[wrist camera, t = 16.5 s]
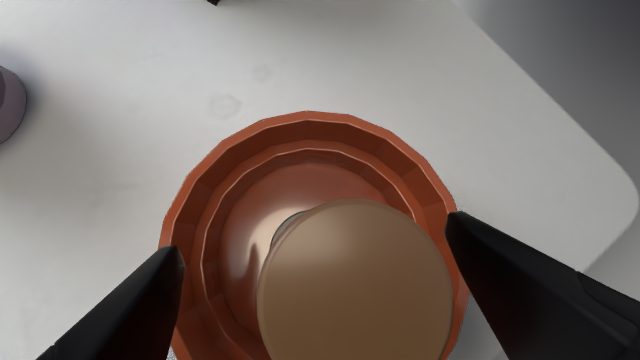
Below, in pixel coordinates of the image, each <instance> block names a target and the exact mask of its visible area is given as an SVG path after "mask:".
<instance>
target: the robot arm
mask: <svg viewBox="0 0 640 360" xmlns="http://www.w3.org/2000/svg"><path fill="white" fill-rule="evenodd" d="M444 236H445V239H446V241H447V243H448V246H449V248H450V250H451V253H452V255H453V257H454V260H455V262H456V264H457V266H458V269H459V271H460V273H461V275H462V277H463V279H464V281H465V283H466V285H467V286H468V288H469V290H470V292H471V293H472V295H473V297H474V299H475V300H476V302H477V304H478V306H479V307H480V309H481V311H482V313H483V315H484V316H485V318H486V320H487V322H488V323H489V325H490V327H491V329H492V330H493V332H494V334H495V336H496V338H497V339H498V341H499V343H500V345H501V346H502V348H503V350H504V352H505V353H506V355H507V357H508V359H509V360H640V302H639V301H637V300H635V299H633V298H631V297H629V296H627V295H625V294H622V293H620V292H618V291H616V290H614V289H612V288H610V287H608V286H606V285H604V284H602V283H600V282H598V281H596V280H594V279H592V278H590V277H588V276H586V275H584V274H583V273H581V272H579V271H575V270H574V269H573V268H571V267H569V266H567V265H565V264H563V263H561V262H559V261H557V260H555V259H553V258H552V257H550V256H548V255H546V254H544V253H542V252H540V251H538V250H536V249H534V248H532V247H530V246H528V245H526V244H525V243H523V242H521V241H519V240H517V239H515V238H513V237H511V236H509V235H507V234H505V233H503V232H501V231H499V230H498V229H496V228H494V227H492V226H490V225H488V224H486V223H484V222H482V221H480V220H478V219H476V218H474V217H472V216H471V215H469V214H467V213H465V212H463V211H454V212H450V213H449V214H448V215H447V219H446V223H445V227H444ZM184 275H185V262H184V259H183V257H182V255H181V252H180V250H179V248H178V246H177V245H168V246H163V247H161V248H160V249H159V250H157V251H156V252H155V253H154V254H153V255H152V256H151V257H150V258H149V259H147V260H146V261H145V262H144V263H143V264H142V265H141V266H140V267H138V268H137V269H136V270H135V271H134V272H133V273H132V274H131V275H130V276H128V277H127V278H126V279H125V280H124V281H123V282H122V283H121V284H120V285H118V286H117V287H116V288H115V289H114V290H113V291H112V292H111V293H110V294H108V295H107V296H106V297H105V298H104V299H103V300H102V301H101V302H99V303H98V304H97V305H96V306H95V307H94V308H93V309H92V310H91V311H89V312H88V313H87V314H86V315H85V316H84V317H83V318H82V319H81V320H79V321H78V322H77V323H76V324H75V325H74V326H73V327H72V328H71V329H69V330H68V331H67V332H66V333H65V334H64V335H63V336H62V337H60V338H59V339H58V340H57V341H56V342H55V343H54V345H52V346H50V347H49V348H48V349H47V350H46V351H45V352H44V353H42V354H41V355H40V356H39V357H38V358H37V359H36V360H166V359H167V355H168V351H169V348H170V344H171V340H172V337H173V333H174V329H175V326H176V322H177V318H178V313H179V307H180V301H181V294H182V288H183V281H184Z"/></svg>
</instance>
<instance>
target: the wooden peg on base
mask: <svg viewBox="0 0 640 360" xmlns="http://www.w3.org/2000/svg"><path fill="white" fill-rule="evenodd" d="M453 311H454V302H453V291H452V285H451V280H450V277H449V273H448V270H447V267H446V265H445V262H444V260H443V258H442V256H441V254H440V252H439V250H438V249H437V247H436V245H435V244H434V242H433V241H432V240H431V238H430V237H429V236H428V234H427V233H426V232H425V231H424V230H423V229H422V228H421V227H420V226H419V225H418V224H417V223H416V222H415V221H413V220H412V219H411V218H410V217H408V216H407V215H405V214H404V213H402V212H401V211H399V210H397V209H395V208H393V207H391V206H388V205H386V204H383V203H380V202H377V201H372V200H366V199H353V198H350V199H339V200H335V201H330V202H326V203H324V204H321V205H318V206H316V207H314V208H312V209H310V210H304V211H301V212H298V213H295V214H294V215H292V216H290V217H289V218H287V219H286V220H285V221H284V222H283V223H282V224H281V225H280V226H279V227H278V229H277V230H276V232H275V234H274V236H273V238H272V241H271V244H270V248H269V252H268V254H267V257H266V259H265V261H264V264H263V267H262V270H261V273H260V277H259V282H258V287H257V317H258V323H259V328H260V332H261V335H262V338H263V342H264V344H265V346H266V349H267V351H268V353H269V355H270V357H271V358H272V360H440V359H441V357H442V355H443V353H444V351H445V349H446V346H447V343H448V340H449V337H450V334H451V328H452V323H453Z"/></svg>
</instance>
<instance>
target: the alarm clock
mask: <svg viewBox="0 0 640 360" xmlns="http://www.w3.org/2000/svg"><path fill="white" fill-rule="evenodd" d="M207 1H209V2H210V3H212V4H214V5H215V6H216V5H217V2H218V0H207Z"/></svg>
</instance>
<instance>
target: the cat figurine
mask: <svg viewBox="0 0 640 360" xmlns="http://www.w3.org/2000/svg"><path fill="white" fill-rule="evenodd" d="M26 100H27V97H26V93H25V90H24V86H23V84H22V83H21V81H20V80H19V79H18V78H17V76H16V75H15V74H14V73H12V72H11V71H9V70H7V69H6V68H4V67H2V66H0V144H1V143H2V142H4V141H5V140H7V139H8V138H9V136H10V135H11V134H12V133H13V132H14V131H15V130H16V129H17V127H18V126H19V124H20V122H21V120H22V118H23V116H24V113H25V109H26Z"/></svg>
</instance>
